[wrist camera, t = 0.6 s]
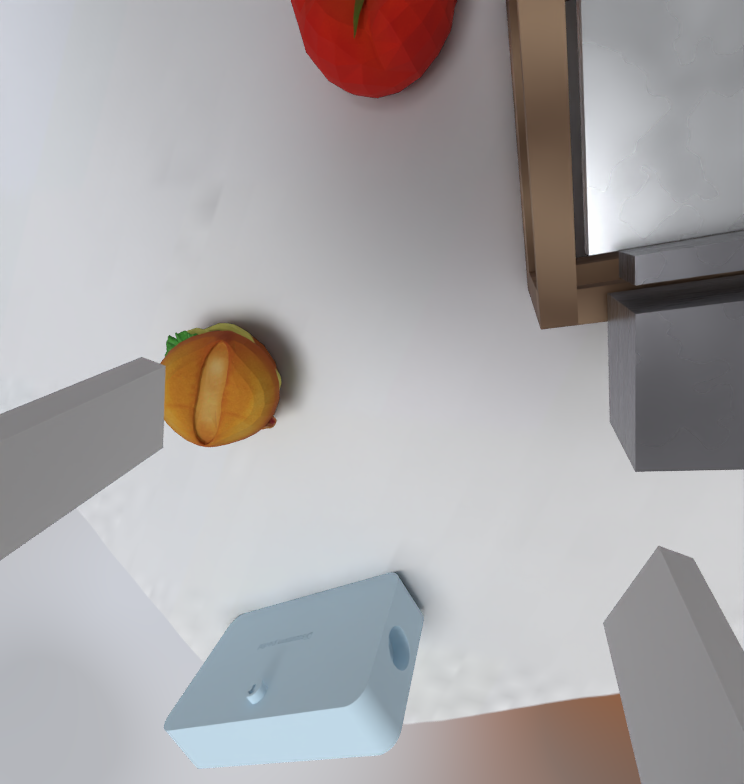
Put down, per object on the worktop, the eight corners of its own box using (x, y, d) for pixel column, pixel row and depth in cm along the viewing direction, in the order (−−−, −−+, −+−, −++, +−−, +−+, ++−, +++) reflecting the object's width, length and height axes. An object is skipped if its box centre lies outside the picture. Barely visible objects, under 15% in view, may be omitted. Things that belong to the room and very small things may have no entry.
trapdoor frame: (505, -10, 25) (504, -195, 14) (900, -154, 20) (1427, -650, 8) (527, 288, 30) (540, 329, 19) (843, 241, 25) (1119, 259, 14)
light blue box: (397, 562, 42) (355, 696, 31) (426, 607, 44) (396, 753, 32) (232, 609, 52) (151, 725, 40) (259, 645, 53) (188, 769, 41)
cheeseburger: (165, 339, 40) (93, 362, 31) (270, 298, 39) (228, 307, 29) (214, 436, 43) (161, 485, 33) (314, 400, 41) (289, 441, 32)
